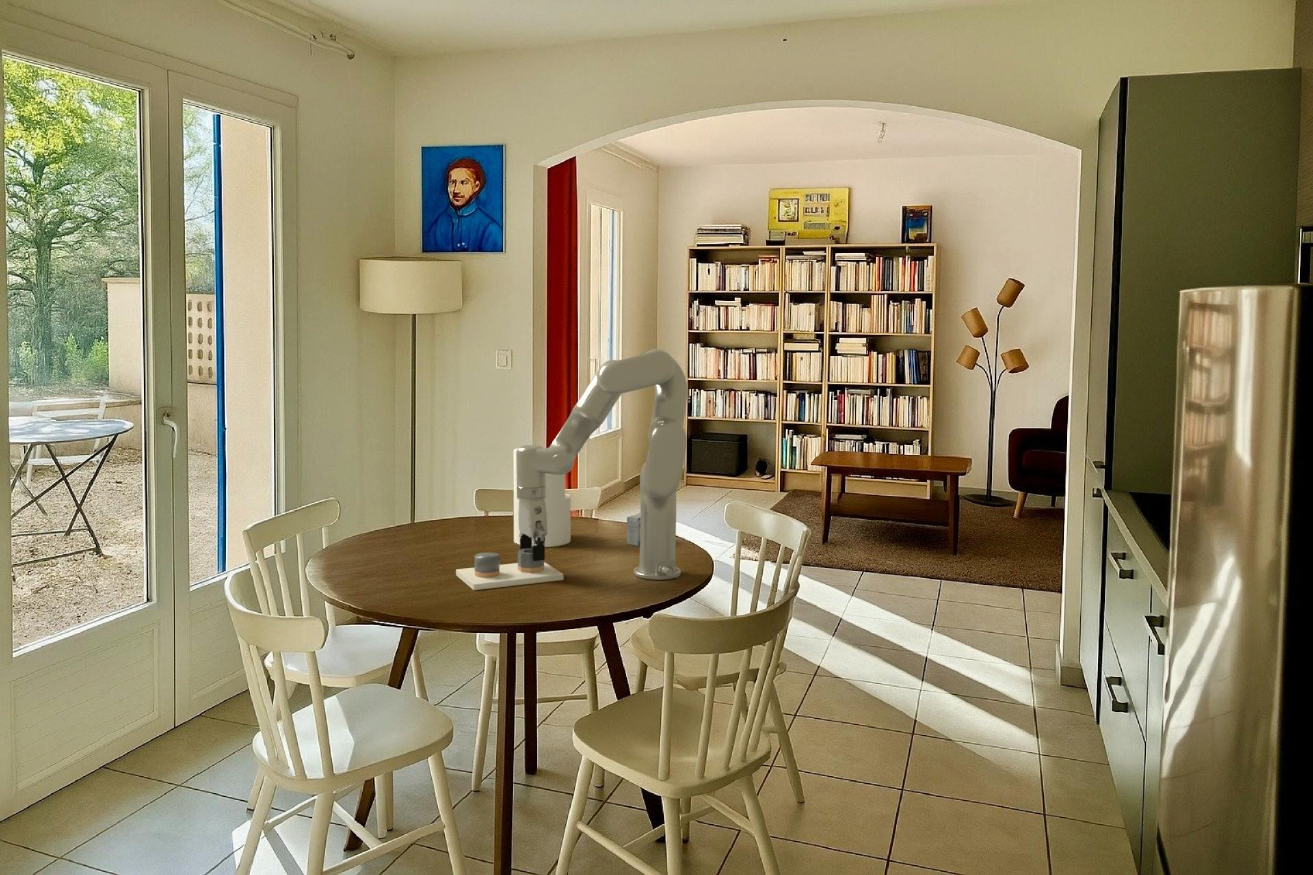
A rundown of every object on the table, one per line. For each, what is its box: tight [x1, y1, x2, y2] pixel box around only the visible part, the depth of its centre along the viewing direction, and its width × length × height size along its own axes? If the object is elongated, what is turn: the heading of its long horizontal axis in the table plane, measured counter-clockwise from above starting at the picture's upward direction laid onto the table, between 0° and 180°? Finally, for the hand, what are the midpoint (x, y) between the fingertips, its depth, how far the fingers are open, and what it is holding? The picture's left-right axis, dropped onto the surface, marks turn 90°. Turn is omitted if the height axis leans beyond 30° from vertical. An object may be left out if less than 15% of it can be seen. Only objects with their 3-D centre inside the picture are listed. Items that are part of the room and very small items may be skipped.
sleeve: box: [517, 548, 545, 573], centre depth 260 cm, size 6×6×5 cm
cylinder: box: [513, 447, 572, 548], centre depth 299 cm, size 17×17×28 cm
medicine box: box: [626, 513, 641, 547], centre depth 299 cm, size 8×4×9 cm, turn 143°
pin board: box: [455, 552, 564, 591], centre depth 258 cm, size 16×24×6 cm, turn 117°
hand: (532, 556), depth 260 cm, fingers open, 9 cm apart
